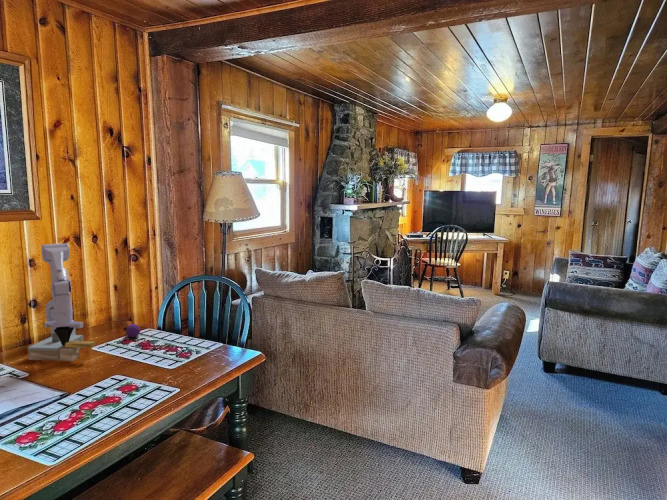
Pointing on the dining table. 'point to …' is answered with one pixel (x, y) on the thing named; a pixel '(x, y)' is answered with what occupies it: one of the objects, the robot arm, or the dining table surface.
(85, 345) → the yellow rectangular block
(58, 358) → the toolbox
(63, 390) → the dining table surface
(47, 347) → the lid
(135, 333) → the kendama
